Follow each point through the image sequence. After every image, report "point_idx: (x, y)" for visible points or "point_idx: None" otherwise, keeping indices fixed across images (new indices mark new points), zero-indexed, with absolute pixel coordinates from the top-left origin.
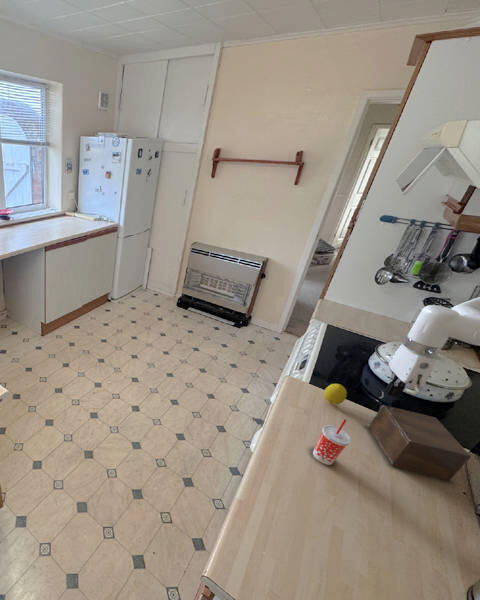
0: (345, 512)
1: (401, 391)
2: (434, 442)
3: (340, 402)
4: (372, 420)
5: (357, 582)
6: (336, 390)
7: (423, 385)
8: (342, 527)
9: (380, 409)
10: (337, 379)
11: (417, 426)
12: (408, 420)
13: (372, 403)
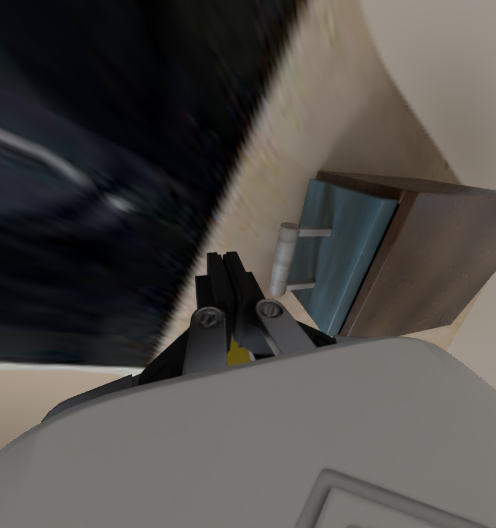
0: (413, 335)
1: (245, 275)
2: (479, 277)
3: None
4: (292, 291)
5: (451, 334)
6: None
7: (456, 361)
8: (422, 339)
9: (318, 324)
10: (42, 307)
11: (429, 293)
12: (405, 307)
13: (158, 231)
